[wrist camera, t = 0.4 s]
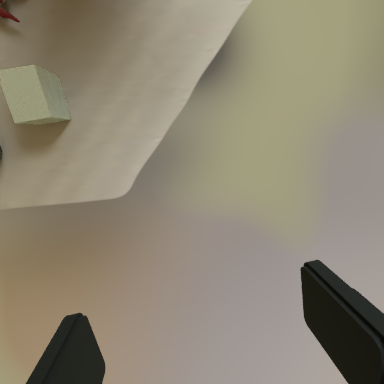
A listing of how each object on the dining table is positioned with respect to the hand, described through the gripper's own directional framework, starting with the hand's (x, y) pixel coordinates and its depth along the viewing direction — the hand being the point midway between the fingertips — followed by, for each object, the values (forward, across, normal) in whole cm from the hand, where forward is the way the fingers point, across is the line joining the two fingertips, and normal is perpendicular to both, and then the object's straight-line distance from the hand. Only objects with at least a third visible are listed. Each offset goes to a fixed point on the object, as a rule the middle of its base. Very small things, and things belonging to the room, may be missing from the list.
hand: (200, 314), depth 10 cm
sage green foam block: (+29, +16, -15) cm, 37 cm away
